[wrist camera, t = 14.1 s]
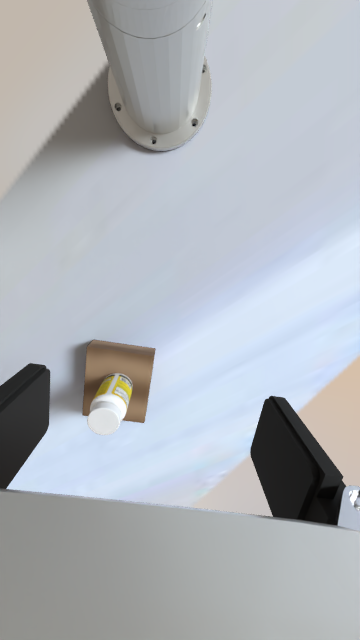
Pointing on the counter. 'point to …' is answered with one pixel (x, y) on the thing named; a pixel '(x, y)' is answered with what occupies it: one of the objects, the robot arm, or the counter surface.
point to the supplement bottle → (110, 404)
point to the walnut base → (124, 361)
